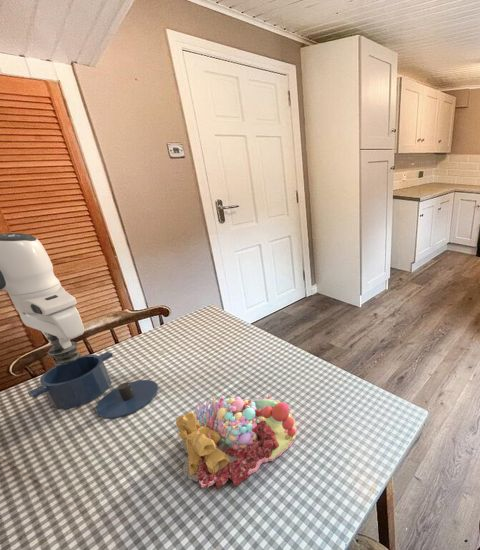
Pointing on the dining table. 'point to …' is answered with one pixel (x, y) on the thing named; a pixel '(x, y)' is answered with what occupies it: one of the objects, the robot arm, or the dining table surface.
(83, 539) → the dining table surface
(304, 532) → the dining table surface
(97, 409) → the pot lid
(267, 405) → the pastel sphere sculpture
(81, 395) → the pot
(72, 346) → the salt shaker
